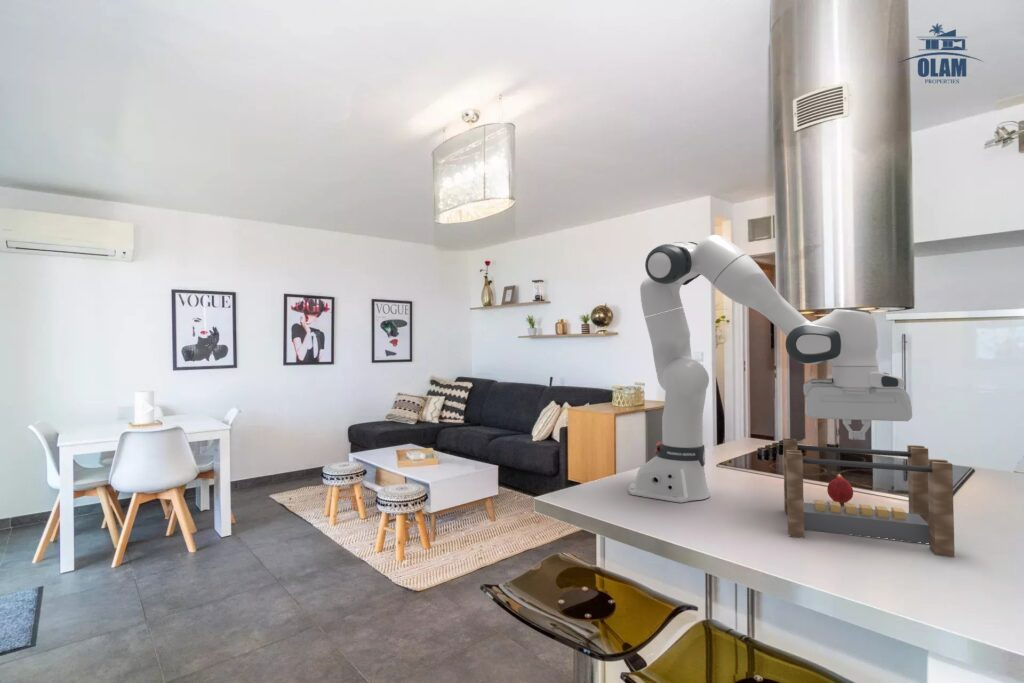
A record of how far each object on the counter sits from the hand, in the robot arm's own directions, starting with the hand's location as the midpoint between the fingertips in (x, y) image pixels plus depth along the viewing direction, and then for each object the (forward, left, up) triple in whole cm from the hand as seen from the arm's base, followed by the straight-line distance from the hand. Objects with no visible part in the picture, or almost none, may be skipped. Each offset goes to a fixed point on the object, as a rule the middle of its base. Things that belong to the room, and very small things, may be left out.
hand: (856, 439), depth 118 cm
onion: (-1, +20, -21) cm, 29 cm away
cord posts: (0, 0, -21) cm, 21 cm away
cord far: (0, +8, -5) cm, 9 cm away
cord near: (0, -8, -5) cm, 9 cm away
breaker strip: (0, 0, -21) cm, 21 cm away
